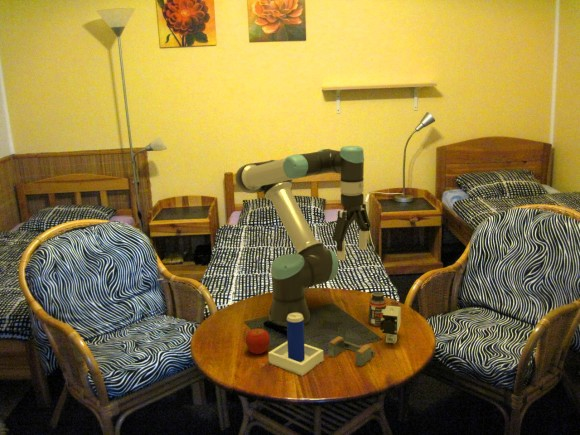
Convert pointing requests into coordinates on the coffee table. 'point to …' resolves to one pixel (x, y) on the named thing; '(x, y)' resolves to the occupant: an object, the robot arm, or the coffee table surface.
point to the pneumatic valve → (391, 322)
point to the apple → (257, 340)
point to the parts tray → (281, 360)
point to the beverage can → (295, 337)
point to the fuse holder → (362, 352)
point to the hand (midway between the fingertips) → (352, 254)
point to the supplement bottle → (376, 308)
